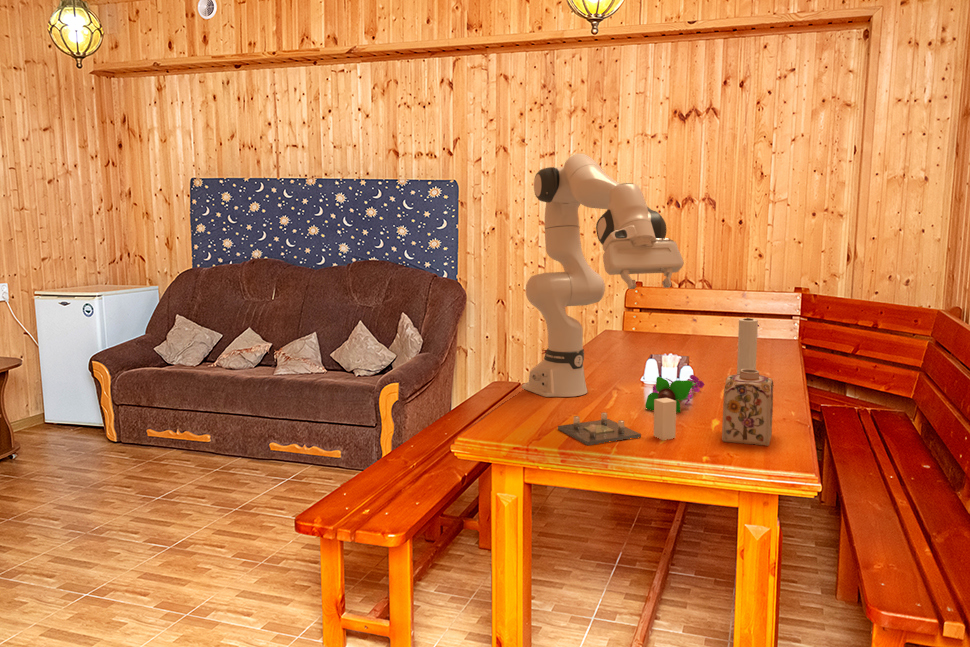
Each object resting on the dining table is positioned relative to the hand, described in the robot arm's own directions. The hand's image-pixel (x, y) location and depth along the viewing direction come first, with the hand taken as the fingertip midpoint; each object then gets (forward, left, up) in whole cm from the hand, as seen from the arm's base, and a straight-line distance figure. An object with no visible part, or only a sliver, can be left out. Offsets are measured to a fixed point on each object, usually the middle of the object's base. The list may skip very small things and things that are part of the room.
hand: (650, 287), depth 199 cm
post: (-1, +9, -40) cm, 41 cm away
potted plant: (-21, +42, -41) cm, 62 cm away
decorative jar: (+14, +24, -41) cm, 49 cm away
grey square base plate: (-15, -1, -40) cm, 43 cm away
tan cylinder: (-21, +81, -41) cm, 93 cm away
